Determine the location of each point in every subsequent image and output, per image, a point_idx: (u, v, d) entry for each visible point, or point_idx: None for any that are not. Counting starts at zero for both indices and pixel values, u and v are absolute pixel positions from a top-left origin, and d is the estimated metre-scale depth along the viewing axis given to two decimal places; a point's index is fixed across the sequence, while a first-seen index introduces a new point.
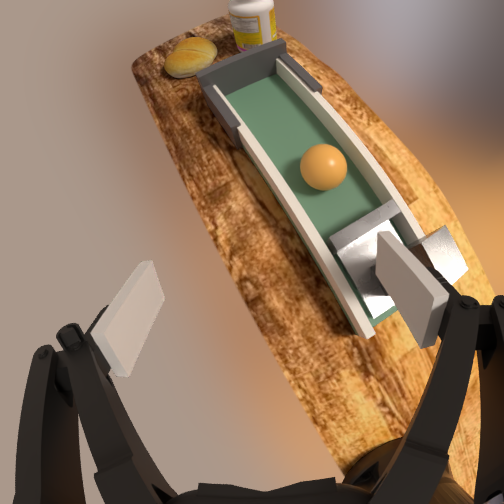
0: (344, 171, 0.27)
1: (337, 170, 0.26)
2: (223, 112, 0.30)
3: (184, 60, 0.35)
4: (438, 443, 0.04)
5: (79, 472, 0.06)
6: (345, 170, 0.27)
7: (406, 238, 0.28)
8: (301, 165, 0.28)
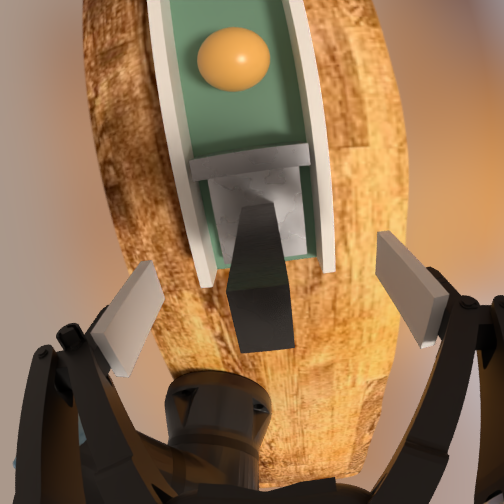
0: (253, 76, 0.16)
1: (239, 74, 0.15)
2: None
3: None
4: (438, 443, 0.04)
5: (79, 472, 0.06)
6: (257, 76, 0.16)
7: (313, 192, 0.22)
8: (199, 49, 0.15)
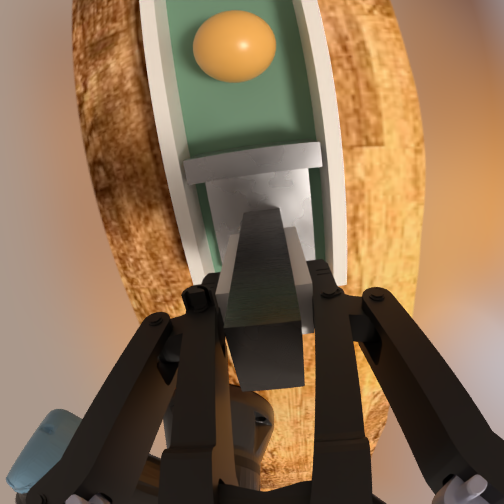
0: (256, 65, 0.13)
1: (241, 62, 0.13)
2: None
3: None
4: (351, 430, 0.05)
5: (146, 455, 0.07)
6: (262, 64, 0.14)
7: (323, 196, 0.20)
8: (195, 36, 0.13)
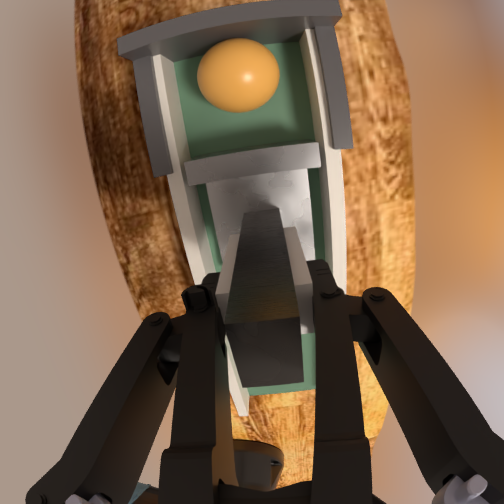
0: (261, 105, 0.16)
1: (249, 110, 0.16)
2: (150, 138, 0.16)
3: None
4: (351, 430, 0.05)
5: (146, 455, 0.07)
6: None
7: None
8: (199, 72, 0.14)
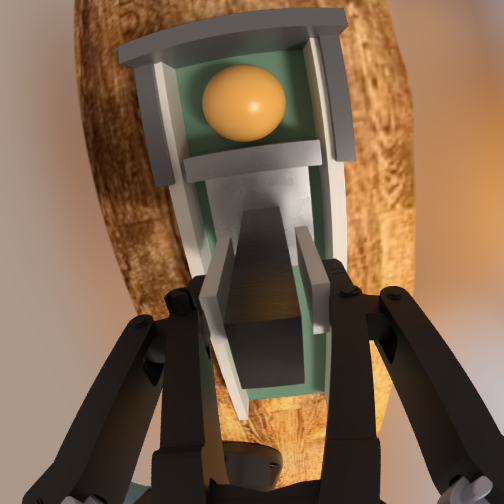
0: None
1: None
2: (151, 148, 0.16)
3: None
4: (363, 430, 0.05)
5: (137, 455, 0.07)
6: None
7: (326, 363, 0.27)
8: (205, 109, 0.15)
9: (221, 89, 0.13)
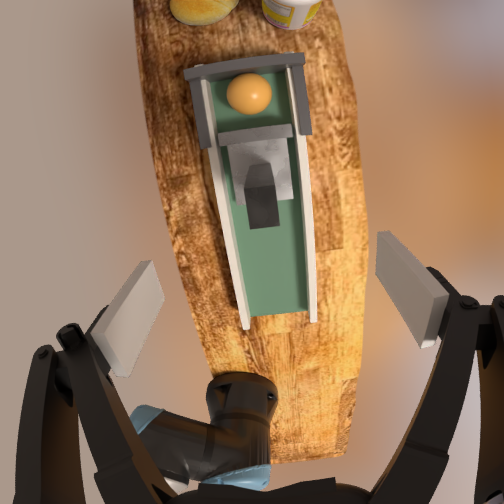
0: None
1: (254, 113, 0.29)
2: (199, 127, 0.29)
3: (192, 11, 0.24)
4: (438, 443, 0.04)
5: (79, 472, 0.06)
6: None
7: (306, 279, 0.40)
8: (228, 91, 0.27)
9: (237, 79, 0.26)
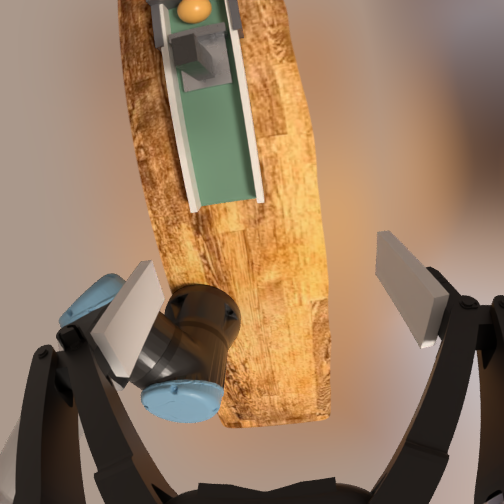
0: (203, 19, 0.30)
1: (197, 20, 0.29)
2: (155, 33, 0.30)
3: None
4: (438, 443, 0.04)
5: (79, 472, 0.06)
6: (205, 18, 0.30)
7: None
8: (177, 8, 0.28)
9: None
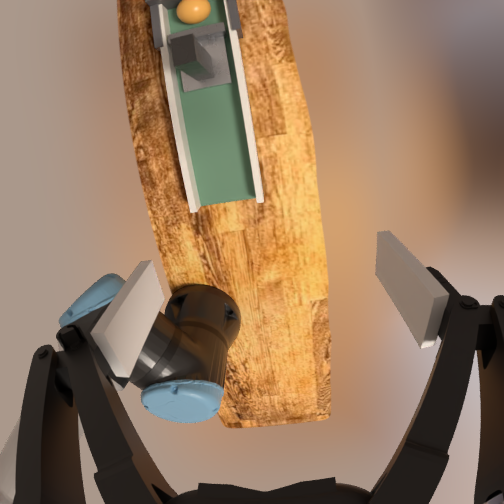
0: (203, 20, 0.30)
1: (197, 21, 0.29)
2: (154, 33, 0.30)
3: None
4: (438, 443, 0.04)
5: (79, 472, 0.06)
6: (205, 18, 0.30)
7: None
8: (177, 8, 0.28)
9: None
